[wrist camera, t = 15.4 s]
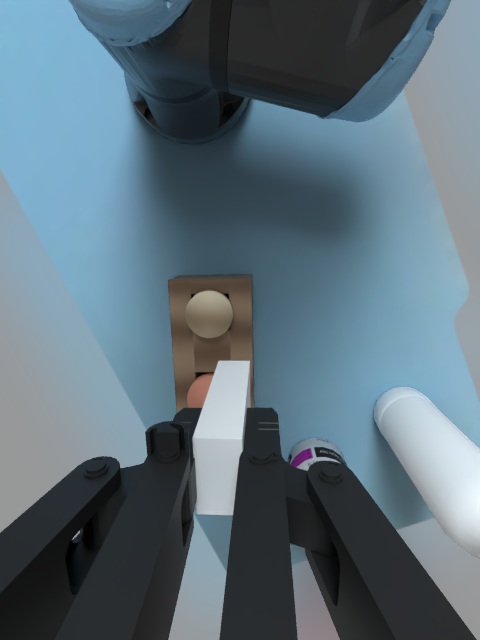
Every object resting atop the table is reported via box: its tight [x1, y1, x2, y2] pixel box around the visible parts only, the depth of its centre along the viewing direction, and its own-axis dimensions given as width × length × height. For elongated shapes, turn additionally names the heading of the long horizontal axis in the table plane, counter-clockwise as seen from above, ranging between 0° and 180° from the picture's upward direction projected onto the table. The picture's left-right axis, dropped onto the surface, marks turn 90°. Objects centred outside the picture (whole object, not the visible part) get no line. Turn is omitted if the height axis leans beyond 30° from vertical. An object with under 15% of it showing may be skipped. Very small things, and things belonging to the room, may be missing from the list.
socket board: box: [168, 274, 254, 413], centre depth 49 cm, size 28×10×6 cm, turn 1°
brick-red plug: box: [187, 372, 215, 408], centre depth 46 cm, size 6×6×7 cm
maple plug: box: [185, 290, 233, 338], centre depth 46 cm, size 6×6×7 cm
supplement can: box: [288, 438, 347, 549], centre depth 47 cm, size 8×8×15 cm
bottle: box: [374, 386, 480, 558], centre depth 37 cm, size 8×8×30 cm
